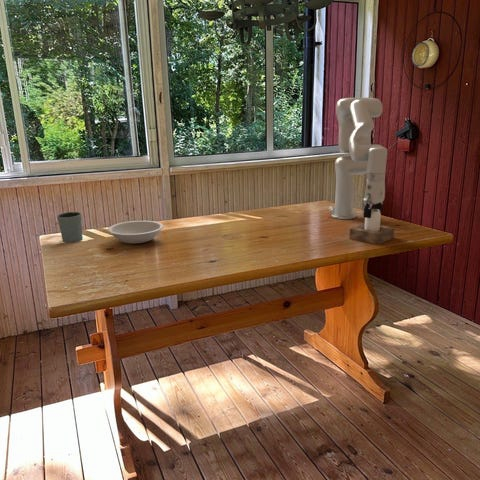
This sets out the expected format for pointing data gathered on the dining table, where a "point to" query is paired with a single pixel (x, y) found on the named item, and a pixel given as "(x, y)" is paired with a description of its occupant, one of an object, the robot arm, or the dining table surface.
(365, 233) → the socket block
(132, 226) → the soup bowl
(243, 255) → the dining table surface
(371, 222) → the can
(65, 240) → the grey green cup
